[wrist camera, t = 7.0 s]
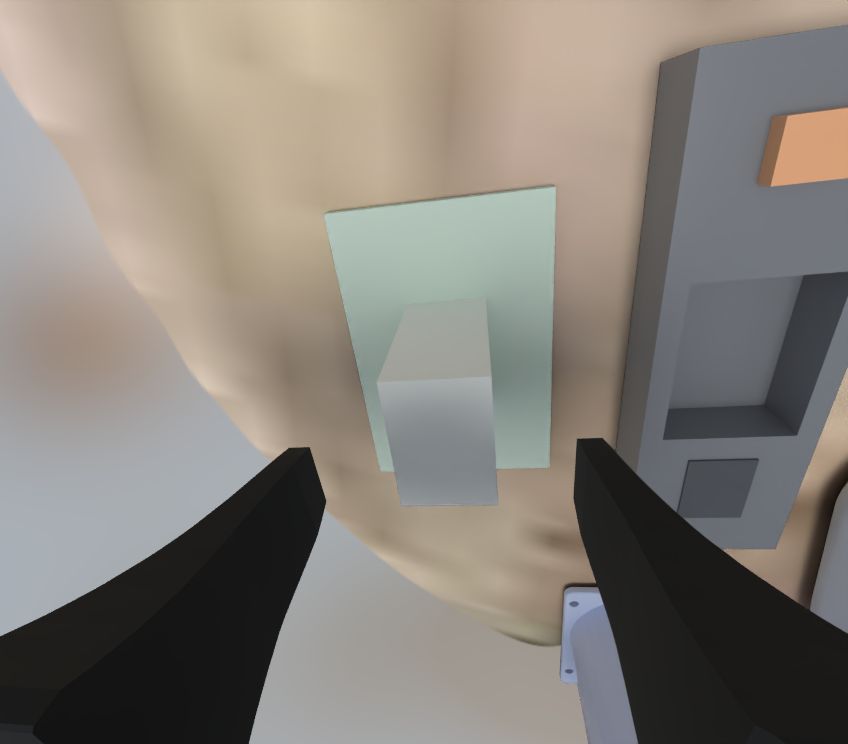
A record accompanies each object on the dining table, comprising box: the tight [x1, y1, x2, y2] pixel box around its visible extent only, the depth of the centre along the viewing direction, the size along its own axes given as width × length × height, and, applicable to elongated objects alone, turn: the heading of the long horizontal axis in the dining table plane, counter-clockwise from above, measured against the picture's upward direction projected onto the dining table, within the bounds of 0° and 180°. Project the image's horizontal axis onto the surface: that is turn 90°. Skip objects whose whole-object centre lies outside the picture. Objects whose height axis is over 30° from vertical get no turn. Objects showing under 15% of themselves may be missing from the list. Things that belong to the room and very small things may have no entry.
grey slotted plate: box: [616, 25, 848, 549], centre depth 15 cm, size 18×6×3 cm, turn 7°
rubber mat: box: [323, 185, 556, 472], centre depth 18 cm, size 12×8×1 cm, turn 7°
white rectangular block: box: [377, 298, 498, 506], centre depth 15 cm, size 4×3×6 cm, turn 7°
